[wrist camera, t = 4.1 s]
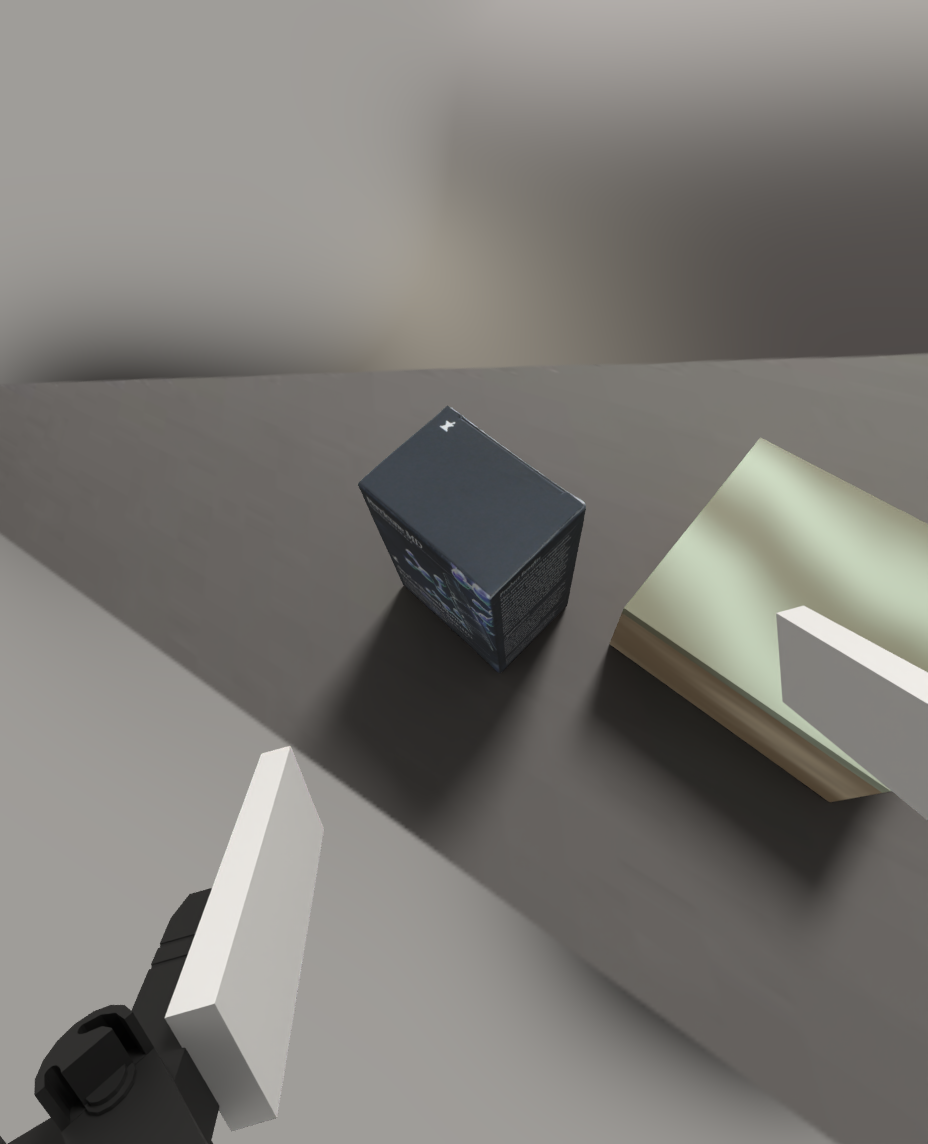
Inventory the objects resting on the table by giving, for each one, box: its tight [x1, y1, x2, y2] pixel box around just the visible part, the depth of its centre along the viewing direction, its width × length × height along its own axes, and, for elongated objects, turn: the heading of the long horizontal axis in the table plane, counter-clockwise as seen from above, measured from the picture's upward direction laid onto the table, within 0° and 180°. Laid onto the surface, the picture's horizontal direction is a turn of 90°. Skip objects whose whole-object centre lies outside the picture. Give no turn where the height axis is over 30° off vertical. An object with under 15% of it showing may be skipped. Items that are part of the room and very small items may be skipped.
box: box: [358, 406, 586, 673], centre depth 28 cm, size 8×6×11 cm
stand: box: [610, 438, 928, 802], centre depth 28 cm, size 12×12×5 cm
